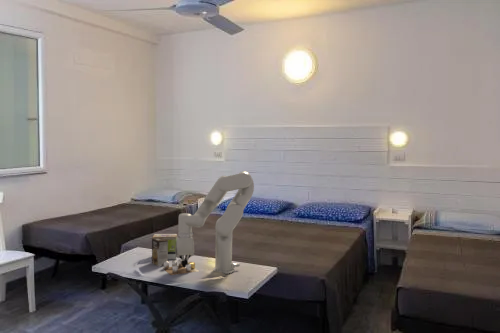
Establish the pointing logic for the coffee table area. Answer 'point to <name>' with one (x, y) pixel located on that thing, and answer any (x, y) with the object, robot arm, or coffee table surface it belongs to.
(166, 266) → the spacers
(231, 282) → the coffee table surface
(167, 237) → the tea box
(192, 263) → the brass domed cylinder
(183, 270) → the board
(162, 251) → the coffee box
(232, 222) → the robot arm
